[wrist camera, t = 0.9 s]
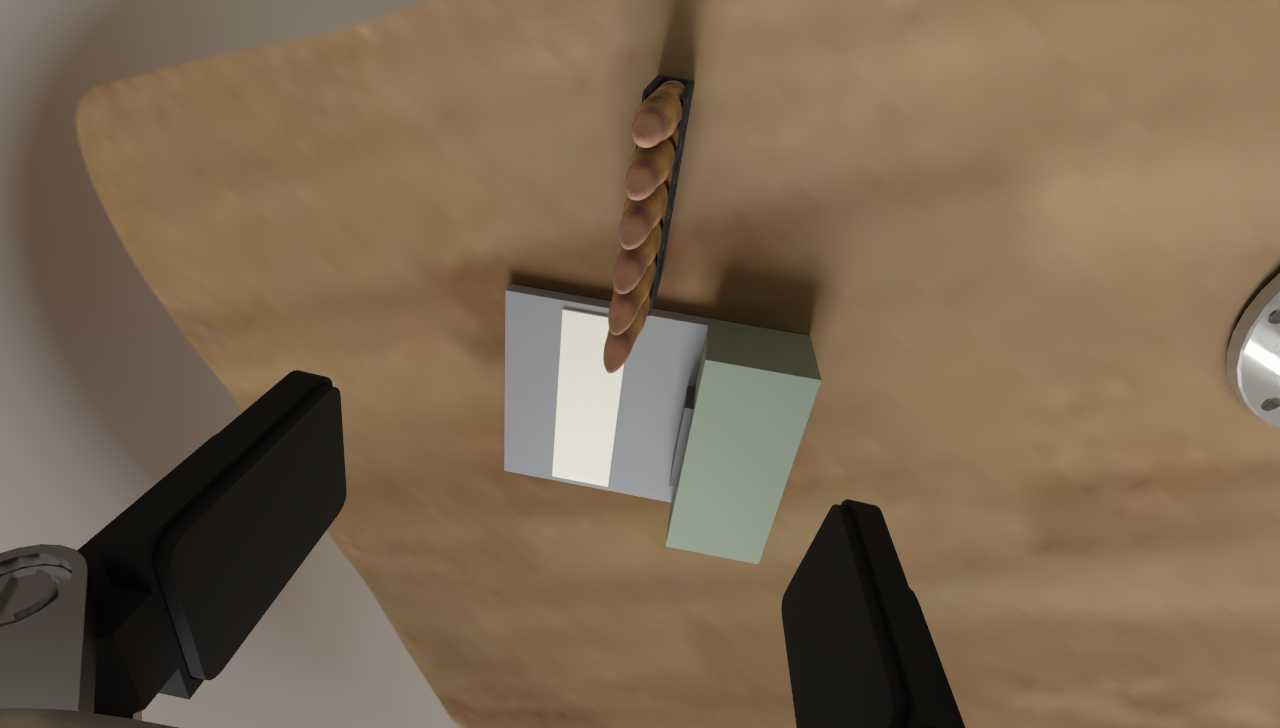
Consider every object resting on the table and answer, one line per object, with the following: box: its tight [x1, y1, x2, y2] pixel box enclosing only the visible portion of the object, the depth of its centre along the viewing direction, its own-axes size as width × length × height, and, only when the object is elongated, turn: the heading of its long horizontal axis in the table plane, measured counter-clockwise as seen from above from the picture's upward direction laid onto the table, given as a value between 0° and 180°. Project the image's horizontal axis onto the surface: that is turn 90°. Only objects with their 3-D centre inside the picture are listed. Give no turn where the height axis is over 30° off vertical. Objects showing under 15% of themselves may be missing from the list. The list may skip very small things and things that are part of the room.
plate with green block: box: [504, 284, 821, 564], centre depth 36 cm, size 18×14×5 cm
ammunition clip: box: [603, 75, 694, 373], centre depth 26 cm, size 11×2×12 cm, turn 172°
